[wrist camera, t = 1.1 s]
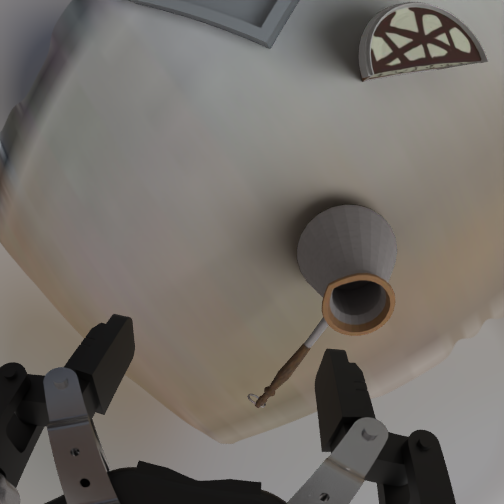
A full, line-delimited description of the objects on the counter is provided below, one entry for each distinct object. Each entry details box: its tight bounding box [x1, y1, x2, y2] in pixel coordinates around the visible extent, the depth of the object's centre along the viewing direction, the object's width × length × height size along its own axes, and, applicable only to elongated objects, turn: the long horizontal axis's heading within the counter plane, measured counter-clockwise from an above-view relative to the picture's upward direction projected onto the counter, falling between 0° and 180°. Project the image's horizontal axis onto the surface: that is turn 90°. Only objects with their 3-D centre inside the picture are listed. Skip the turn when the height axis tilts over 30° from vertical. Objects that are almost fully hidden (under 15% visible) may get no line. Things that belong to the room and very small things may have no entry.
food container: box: [359, 2, 488, 82], centre depth 21 cm, size 12×6×10 cm, turn 109°
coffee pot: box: [247, 205, 397, 408], centre depth 32 cm, size 21×12×15 cm, turn 146°
